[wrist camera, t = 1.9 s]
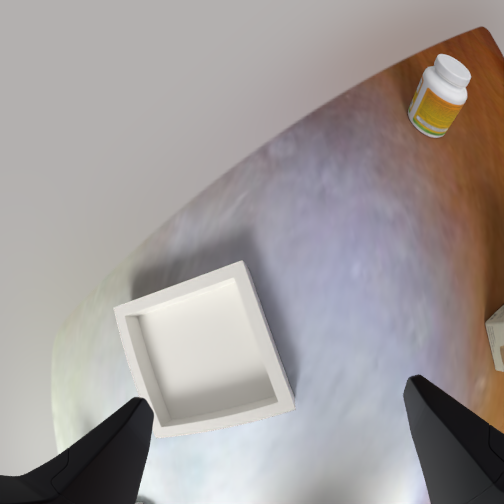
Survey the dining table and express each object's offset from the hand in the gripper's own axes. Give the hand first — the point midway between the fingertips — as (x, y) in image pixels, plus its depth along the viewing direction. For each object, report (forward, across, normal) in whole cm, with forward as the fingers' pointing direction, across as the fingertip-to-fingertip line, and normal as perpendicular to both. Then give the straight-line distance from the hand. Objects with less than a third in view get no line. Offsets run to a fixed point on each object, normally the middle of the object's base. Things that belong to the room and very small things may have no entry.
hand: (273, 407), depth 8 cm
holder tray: (+12, +7, +8) cm, 16 cm away
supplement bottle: (+25, -20, -10) cm, 34 cm away
